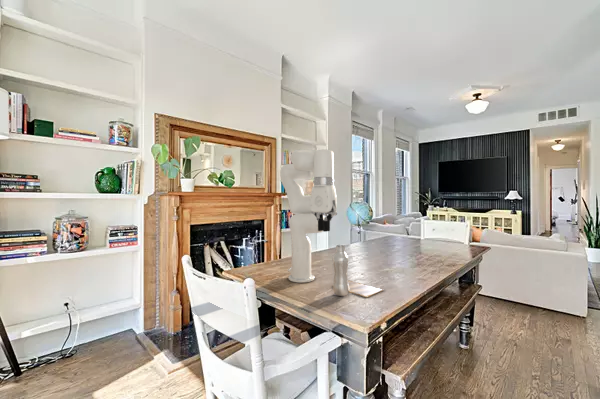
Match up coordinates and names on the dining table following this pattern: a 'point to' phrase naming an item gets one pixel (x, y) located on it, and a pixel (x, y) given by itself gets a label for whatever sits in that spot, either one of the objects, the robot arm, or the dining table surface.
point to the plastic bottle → (340, 271)
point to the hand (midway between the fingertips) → (323, 230)
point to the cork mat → (362, 289)
